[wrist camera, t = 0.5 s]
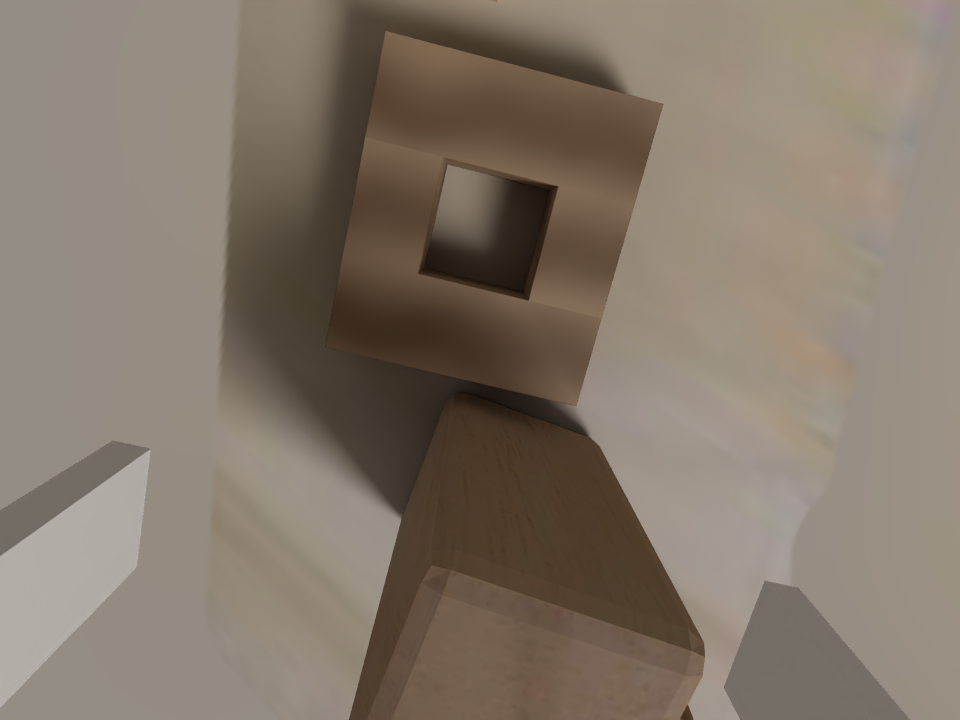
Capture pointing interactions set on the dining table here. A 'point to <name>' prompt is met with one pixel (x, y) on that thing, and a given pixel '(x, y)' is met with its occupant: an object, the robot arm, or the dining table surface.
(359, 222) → the board
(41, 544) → the robot arm
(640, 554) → the block
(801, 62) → the dining table surface
